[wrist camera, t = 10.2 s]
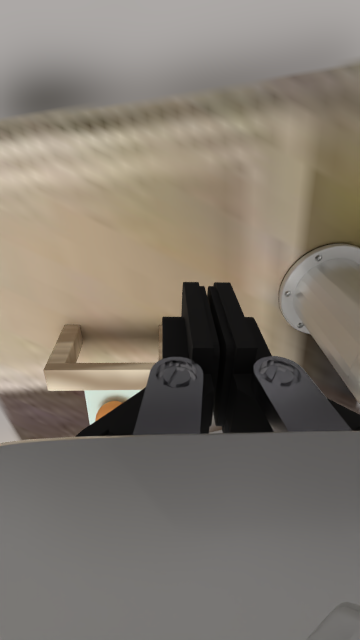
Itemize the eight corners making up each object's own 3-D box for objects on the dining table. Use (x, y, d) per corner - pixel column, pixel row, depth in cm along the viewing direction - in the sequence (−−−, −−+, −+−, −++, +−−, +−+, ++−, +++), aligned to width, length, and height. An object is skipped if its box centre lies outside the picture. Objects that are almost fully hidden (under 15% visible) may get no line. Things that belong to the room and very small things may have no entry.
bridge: (64, 325, 43) (43, 370, 35) (173, 325, 44) (176, 369, 36) (67, 343, 45) (48, 390, 37) (173, 343, 46) (175, 389, 38)
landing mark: (163, 378, 49) (163, 379, 49) (163, 432, 55) (163, 433, 55) (82, 379, 48) (82, 380, 48) (91, 433, 55) (91, 434, 54)
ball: (132, 428, 53) (132, 395, 52) (132, 444, 47) (133, 408, 47) (97, 430, 52) (97, 396, 51) (93, 446, 46) (93, 409, 46)
